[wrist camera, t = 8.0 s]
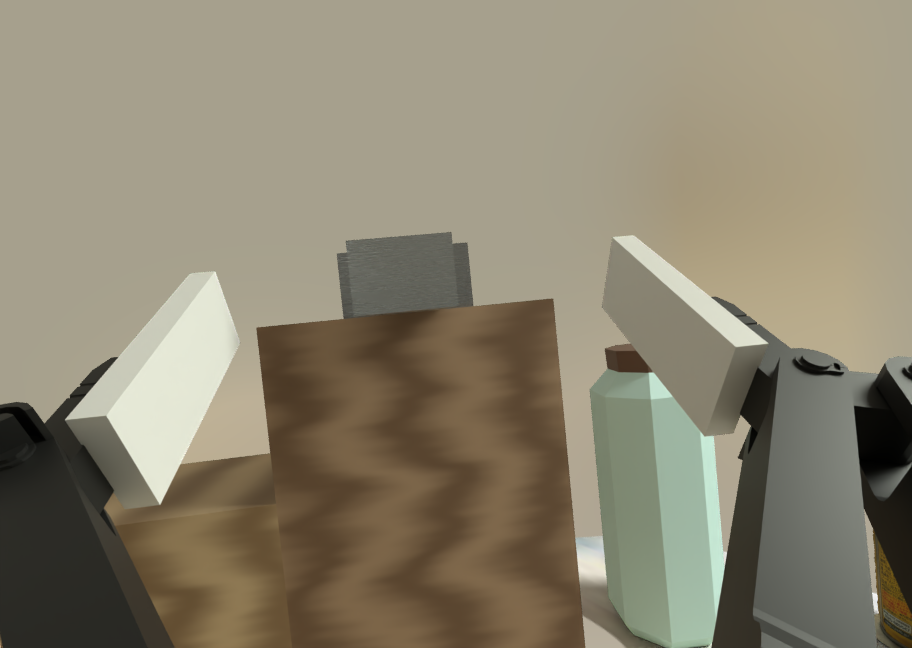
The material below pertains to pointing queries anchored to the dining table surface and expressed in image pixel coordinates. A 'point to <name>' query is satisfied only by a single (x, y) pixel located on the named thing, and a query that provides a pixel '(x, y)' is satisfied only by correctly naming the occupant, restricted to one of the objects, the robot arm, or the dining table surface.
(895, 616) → the condiment
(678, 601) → the water bottle
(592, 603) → the dining table surface
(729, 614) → the robot arm
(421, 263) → the grey t-shaped block
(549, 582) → the stepped stand
